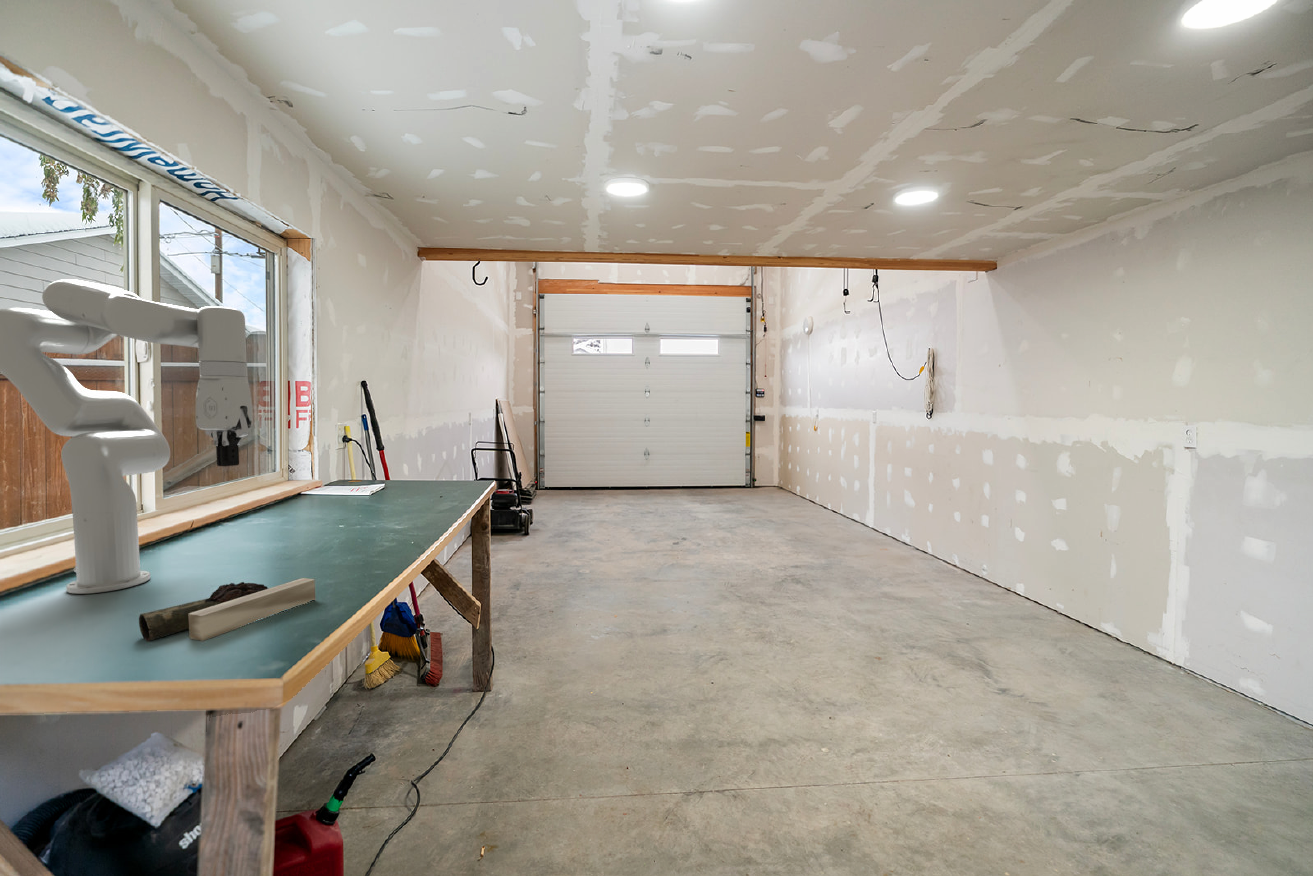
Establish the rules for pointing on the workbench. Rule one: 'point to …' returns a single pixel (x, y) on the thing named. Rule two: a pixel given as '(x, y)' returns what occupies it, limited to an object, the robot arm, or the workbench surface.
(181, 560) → the workbench surface
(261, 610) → the bar
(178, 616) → the brown long lumpy piece
